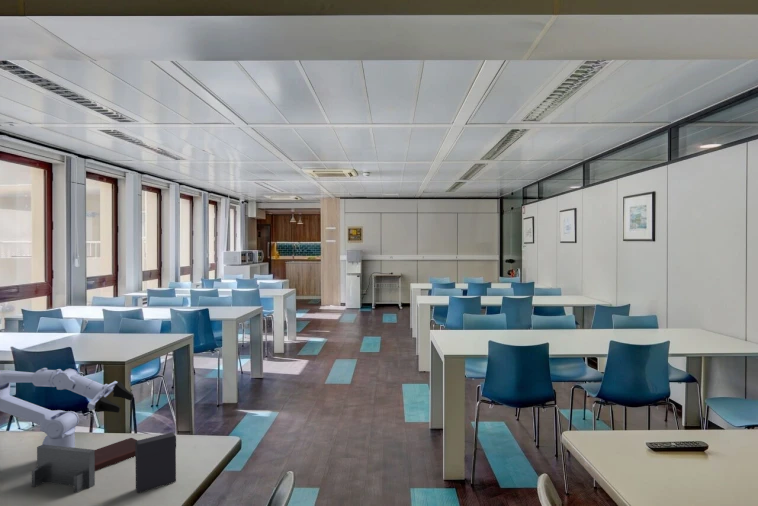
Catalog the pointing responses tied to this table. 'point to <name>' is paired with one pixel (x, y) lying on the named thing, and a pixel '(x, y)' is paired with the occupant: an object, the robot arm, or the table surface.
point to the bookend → (64, 467)
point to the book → (114, 453)
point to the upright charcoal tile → (155, 461)
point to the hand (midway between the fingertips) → (126, 403)
